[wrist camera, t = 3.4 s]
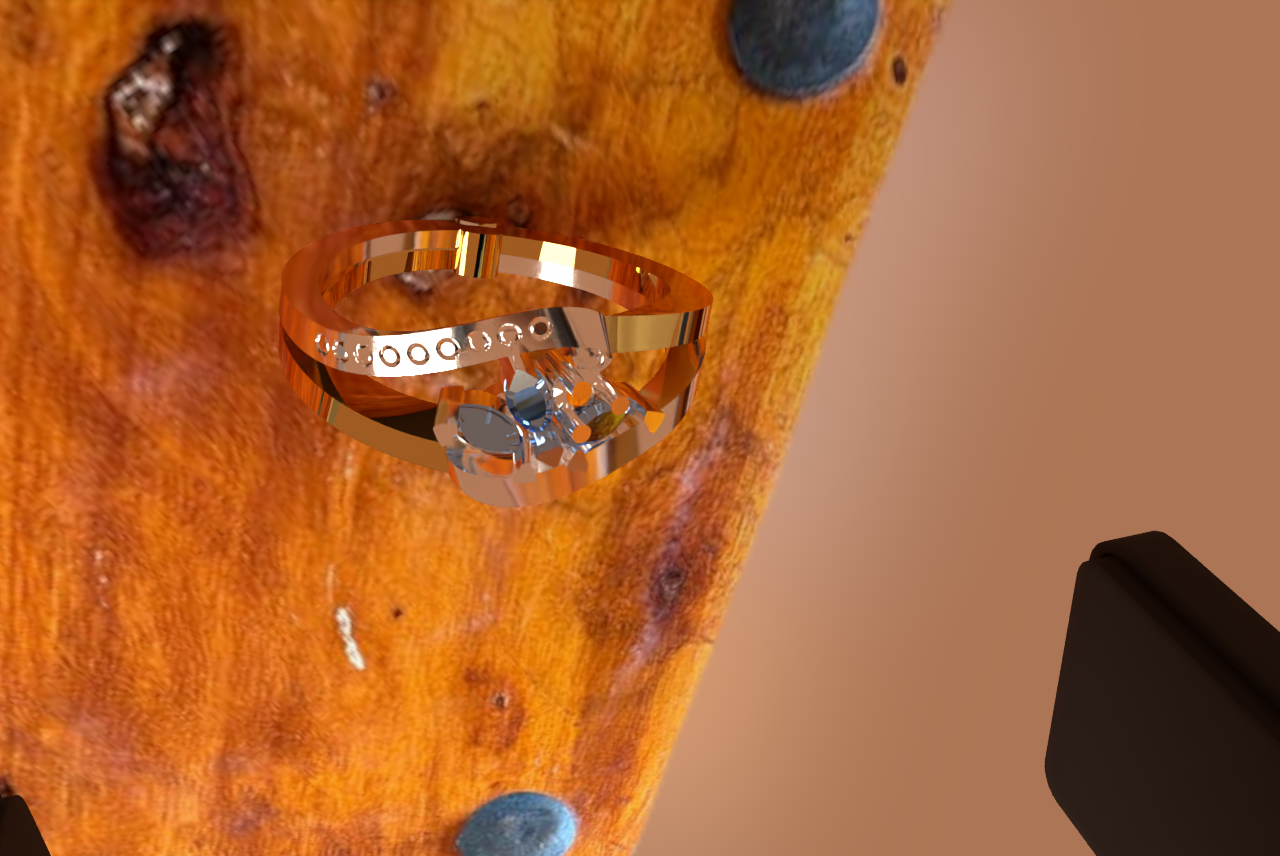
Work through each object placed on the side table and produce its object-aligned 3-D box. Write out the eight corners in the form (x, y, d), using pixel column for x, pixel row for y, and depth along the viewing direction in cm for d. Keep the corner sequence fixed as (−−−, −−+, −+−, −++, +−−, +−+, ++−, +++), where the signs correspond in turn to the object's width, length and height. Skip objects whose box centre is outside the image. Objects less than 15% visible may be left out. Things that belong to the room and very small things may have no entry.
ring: (659, 176, 23) (803, 346, 16) (630, 326, 24) (751, 540, 17) (290, 132, 21) (274, 305, 14) (282, 298, 22) (264, 528, 15)
